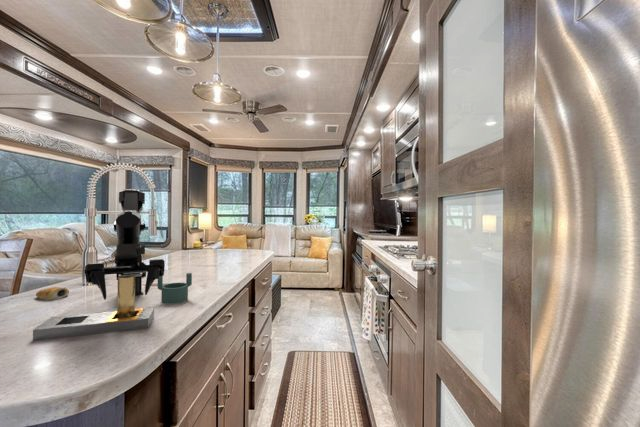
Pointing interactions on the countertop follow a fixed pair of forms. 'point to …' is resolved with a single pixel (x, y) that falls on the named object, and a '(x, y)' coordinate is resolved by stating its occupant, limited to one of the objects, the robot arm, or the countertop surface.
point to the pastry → (52, 293)
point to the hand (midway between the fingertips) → (125, 296)
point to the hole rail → (92, 324)
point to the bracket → (174, 290)
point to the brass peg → (126, 297)
